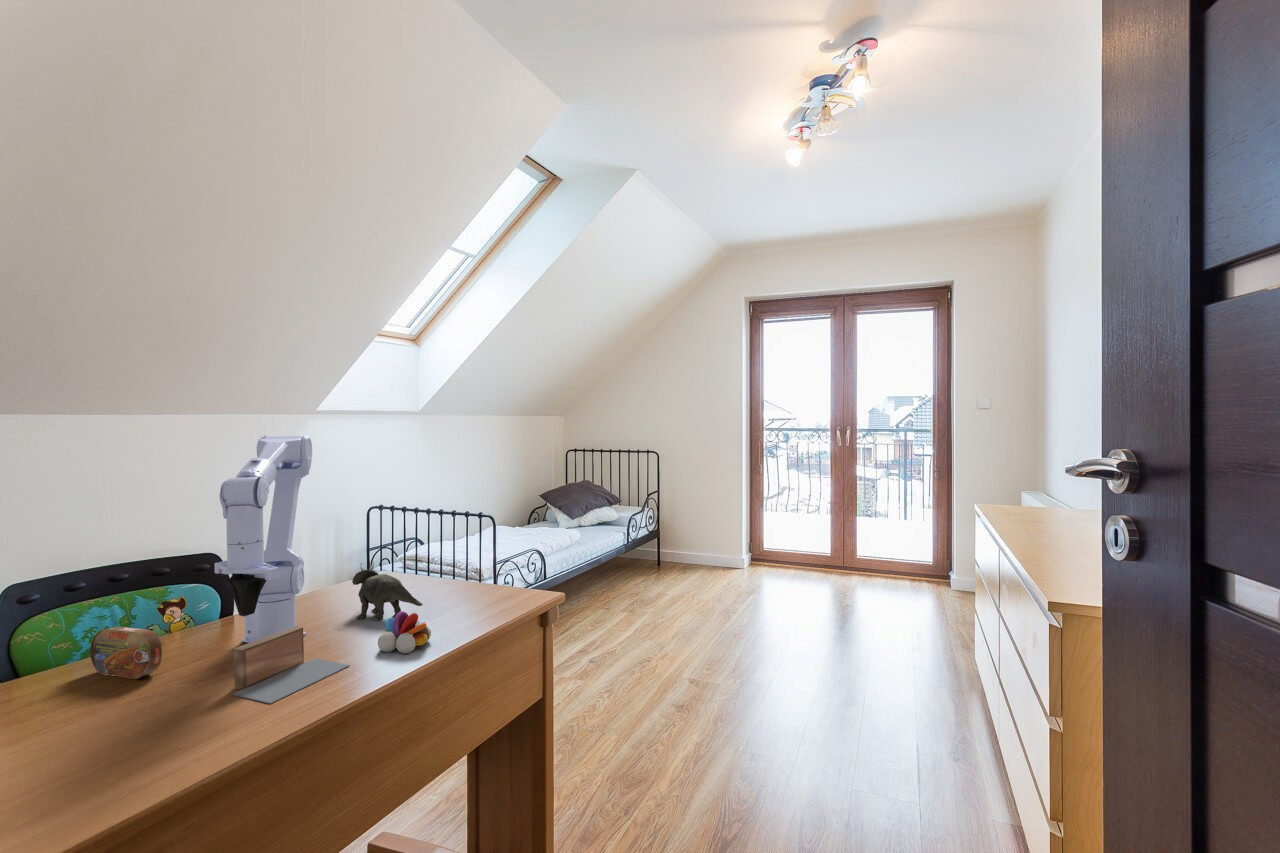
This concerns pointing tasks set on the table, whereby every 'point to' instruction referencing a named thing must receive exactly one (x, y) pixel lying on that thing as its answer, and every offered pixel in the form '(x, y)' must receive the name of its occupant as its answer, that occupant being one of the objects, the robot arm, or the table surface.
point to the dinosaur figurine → (380, 592)
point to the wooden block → (268, 657)
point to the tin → (126, 652)
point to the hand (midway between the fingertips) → (247, 614)
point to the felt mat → (291, 681)
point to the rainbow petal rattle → (403, 633)
